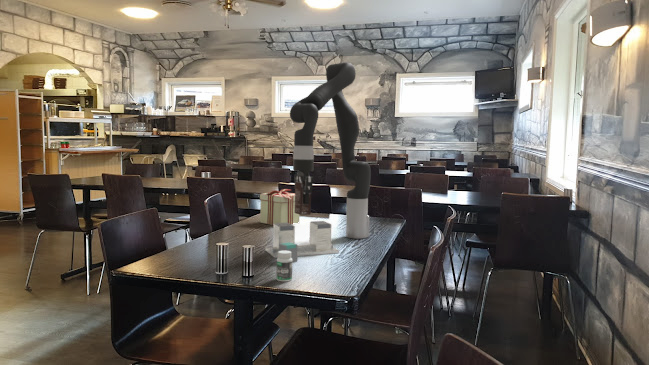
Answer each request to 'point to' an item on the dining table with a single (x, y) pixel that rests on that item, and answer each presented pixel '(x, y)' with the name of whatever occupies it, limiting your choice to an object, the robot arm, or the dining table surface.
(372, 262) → the dining table surface
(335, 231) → the dining table surface
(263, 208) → the gift box
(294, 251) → the block
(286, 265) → the pill bottle
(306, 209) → the box
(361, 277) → the dining table surface
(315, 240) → the rail panel
